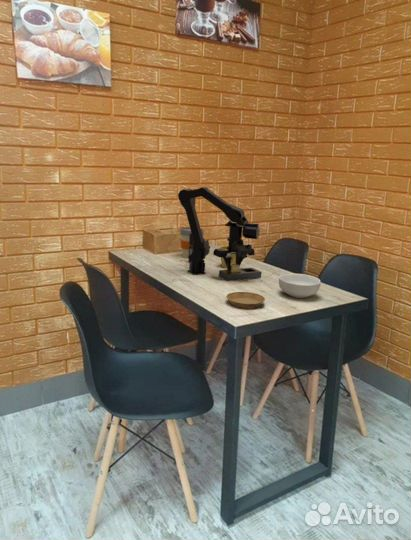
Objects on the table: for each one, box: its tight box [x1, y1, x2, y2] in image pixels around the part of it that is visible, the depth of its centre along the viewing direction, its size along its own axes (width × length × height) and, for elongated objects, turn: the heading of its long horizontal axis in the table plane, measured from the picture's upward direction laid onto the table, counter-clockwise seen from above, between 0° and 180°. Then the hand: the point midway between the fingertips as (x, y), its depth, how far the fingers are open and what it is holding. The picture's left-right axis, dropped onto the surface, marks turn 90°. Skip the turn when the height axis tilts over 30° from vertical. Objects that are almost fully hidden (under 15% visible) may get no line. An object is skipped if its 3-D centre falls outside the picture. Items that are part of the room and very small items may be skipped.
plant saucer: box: [225, 291, 266, 309], centre depth 174 cm, size 15×15×3 cm
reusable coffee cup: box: [179, 226, 204, 259], centre depth 244 cm, size 13×12×15 cm
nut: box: [226, 263, 241, 274], centre depth 208 cm, size 4×4×4 cm
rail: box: [218, 267, 263, 282], centre depth 210 cm, size 18×8×3 cm, turn 117°
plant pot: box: [219, 245, 236, 269], centre depth 228 cm, size 10×10×10 cm
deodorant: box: [187, 233, 193, 264], centre depth 232 cm, size 6×6×15 cm
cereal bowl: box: [278, 273, 321, 299], centre depth 187 cm, size 17×17×7 cm
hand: (232, 270), depth 208 cm, fingers closed on nut, 4 cm apart
